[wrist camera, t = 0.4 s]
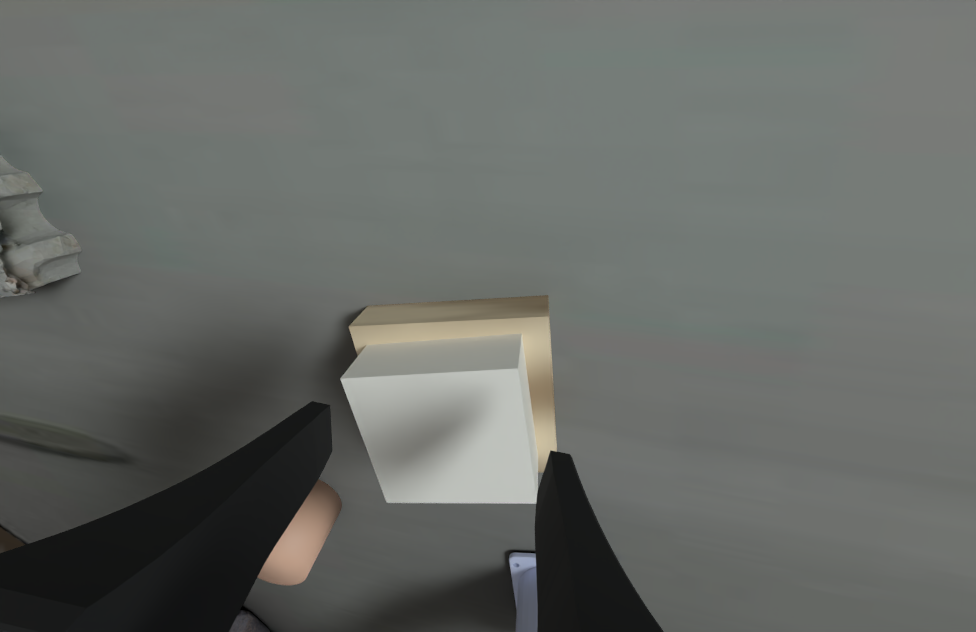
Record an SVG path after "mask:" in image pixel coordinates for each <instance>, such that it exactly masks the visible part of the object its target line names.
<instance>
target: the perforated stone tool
mask: <svg viewBox="0 0 976 632" xmlns="http://www.w3.org/2000/svg"><path fill="white" fill-rule="evenodd" d="M229 632H270V630H269V629H268V628H267V627H266V626H265V625H264V624H263V623H262V622H261V621H259V620H258V618H256V617H255V616H254V615H253V614H252V613H251V612H249V611H245V610H240V611H239V613H238V615H237V617H236V619H235V621H234V623H233V625H232V627H231V629H230V631H229Z"/></svg>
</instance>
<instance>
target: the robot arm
mask: <svg viewBox="0 0 976 632" xmlns="http://www.w3.org/2000/svg"><path fill="white" fill-rule="evenodd" d="M331 452H332V435H331V414H330V405H327V404H322V403H317V402H313V401H312V402H310V403H309V404H307V405H306V406H304V407H303V408H301V409H300V410H298V411H297V412H295V413H294V414H292V415H291V416H289V417H288V418H286V419H285V420H283V421H282V422H281V423H279V424H278V425H276V426H275V427H273V428H272V429H270V430H269V431H267V432H266V433H264V434H262V435H261V436H259V437H258V438H256V439H255V440H253V441H252V442H250V443H249V444H247V445H245V446H244V447H242V448H241V449H239V450H237V451H236V452H234V453H232V454H231V455H229V456H227V457H226V458H224V459H222V460H221V461H219V462H217V463H216V464H214V465H212V466H210V467H208V468H207V469H205V470H203V471H201V472H199V473H198V474H196V475H194V476H192V477H190V478H188V479H186V480H184V481H182V482H180V483H178V484H176V485H174V486H172V487H170V488H168V489H166V490H164V491H161V492H159V493H157V494H155V495H153V496H150V497H148V498H146V499H144V500H142V501H139V502H137V503H135V504H133V505H131V506H128V507H126V508H124V509H121V510H119V511H116V512H114V513H111V514H109V515H107V516H104V517H102V518H99V519H97V520H94V521H91V522H89V523H86V524H84V525H81V526H78V527H76V528H73V529H70V530H68V531H65V532H62V533H59V534H56V535H54V536H51V537H48V538H45V539H42V540H39V541H36V542H33V543H30V544H27V545H24V546H21V547H18V548H15V549H13V550H9V551H6V552H3V553H0V632H229V631H230V629H231V627H232V625H233V623H234V621H235V619H236V617H237V615H238V613H239V611H240V609H241V607H242V605H243V603H244V601H245V599H246V597H247V595H248V594H249V592H250V590H251V588H252V586H253V584H254V582H255V580H256V579H257V577H258V575H259V573H260V571H261V569H262V567H263V566H264V564H265V562H266V560H267V559H268V557H269V555H270V554H271V552H272V550H273V549H274V547H275V545H276V544H277V542H278V541H279V539H280V538H281V536H282V535H283V533H284V532H285V530H286V529H287V527H288V526H289V524H290V522H291V521H292V519H293V518H294V516H295V515H296V513H297V512H298V510H299V509H300V507H301V506H302V504H303V503H304V501H305V499H306V498H307V496H308V495H309V493H310V492H311V490H312V489H313V487H314V485H315V484H316V482H317V481H318V479H319V477H320V475H321V473H322V471H323V469H324V467H325V465H326V463H327V461H328V459H329V457H330V455H331ZM535 549H536V553H518V552H514V553H511V554H510V555H509V563H510V570H511V577H512V583H513V590H514V597H515V603H516V610H517V616H516V632H663V630H662V629H661V627H660V626H659V624H658V623H657V622H656V620H655V619H654V617H653V616H652V615H651V613H650V612H649V610H648V609H647V607H646V606H645V604H644V603H643V601H642V599H641V598H640V596H639V595H638V593H637V592H636V590H635V588H634V587H633V585H632V584H631V582H630V580H629V579H628V577H627V575H626V574H625V572H624V570H623V568H622V567H621V565H620V563H619V561H618V560H617V558H616V556H615V554H614V552H613V550H612V549H611V547H610V545H609V543H608V541H607V539H606V537H605V535H604V533H603V531H602V529H601V527H600V525H599V523H598V521H597V518H596V516H595V514H594V512H593V510H592V507H591V505H590V503H589V501H588V498H587V496H586V494H585V491H584V489H583V486H582V484H581V481H580V479H579V476H578V473H577V471H576V468H575V465H574V462H573V459H572V457H571V455H570V454H566V453H561V452H556V451H551V450H550V453H549V457H548V460H547V463H546V467H545V470H544V473H543V476H542V480H541V483H540V486H539V489H538V493H537V502H536V516H535Z"/></svg>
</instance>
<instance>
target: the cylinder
mask: <svg viewBox="0 0 976 632" xmlns="http://www.w3.org/2000/svg"><path fill="white" fill-rule="evenodd" d="M341 508H342V504H341V500H340V498H339V496H338V494H337V493H336V492H335V491H334V490H333V489H332V488H331V487H330V486H329V485H327V484H326V483H324V482H322V481H321V480H318V481H317V482H316V484H315V485H314V487H313V489H312V490H311V492H310V493H309V495H308V496H307V498H306V499H305V501H304V503H303V504H302V506H301V507H300V509H299V510H298V512H297V513H296V515H295V516H294V518H293V519H292V521H291V522H290V524H289V526H288V527H287V529H286V530H285V532H284V533H283V535H282V536H281V538H280V539H279V541H278V542H277V544H276V545H275V547H274V549H273V550H272V552H271V554H270V555H269V557H268V559H267V560H266V562H265V564H264V566H263V567H262V569H261V571H260V573H259V575H258V578H260V579H262V580H265V581H267V582H270V583H274V584H279V585H296V584H299V583H301V582H303V581H304V580H305V579H306V577H307V575H308V573H309V571H310V570H311V568H312V566H313V564H314V562H315V560H316V558H317V556H318V554H319V552H320V550H321V548H322V546H323V544H324V542H325V540H326V538H327V536H328V534H329V532H330V530H331V528H332V527H333V525H334V523H335V521H336V519H337V517H338V515H339V513H340V511H341Z"/></svg>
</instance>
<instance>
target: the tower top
mask: <svg viewBox="0 0 976 632" xmlns="http://www.w3.org/2000/svg"><path fill="white" fill-rule="evenodd" d="M340 380H341V382H342V385H343V388H344V390H345V393H346V396H347V398H348V401H349V404H350V406H351V409H352V412H353V414H354V417H355V420H356V422H357V425H358V428H359V430H360V433H361V436H362V438H363V441H364V443H365V446H366V449H367V451H368V454H369V457H370V459H371V462H372V465H373V467H374V470H375V473H376V475H377V478H378V481H379V483H380V486H381V489H382V491H383V494H384V497H385V499H386V502H387V503H536V502H537V493H538V452H537V444H536V437H535V429H534V422H533V414H532V407H531V399H530V392H529V384H528V377H527V369H526V362H525V354H524V346H523V339H522V333H519V334H505V335H492V336H479V337H465V338H452V339H439V340H426V341H413V342H399V343H386V344H373V345H366V347H365V348H364V349H363V350H362V352H361V353H360V354H359V355H358V357H357V358H356V359H355V361H354V362H353V363H352V364H351V366H350V367H349V368H348V369H347V371H346V372H345V373H344V374H343V376H342V377H341V378H340Z"/></svg>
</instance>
